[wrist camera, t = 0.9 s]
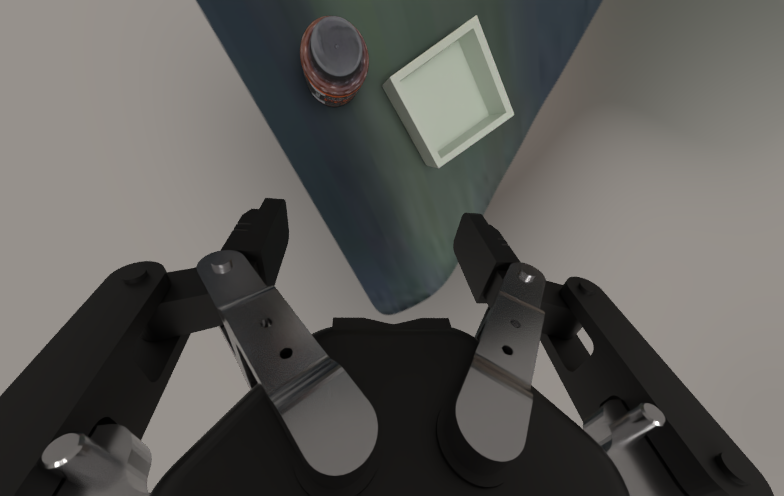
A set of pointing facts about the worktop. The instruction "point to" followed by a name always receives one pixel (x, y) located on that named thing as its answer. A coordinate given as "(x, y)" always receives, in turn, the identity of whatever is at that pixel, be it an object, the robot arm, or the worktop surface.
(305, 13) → the worktop surface
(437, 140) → the box
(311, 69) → the supplement bottle
